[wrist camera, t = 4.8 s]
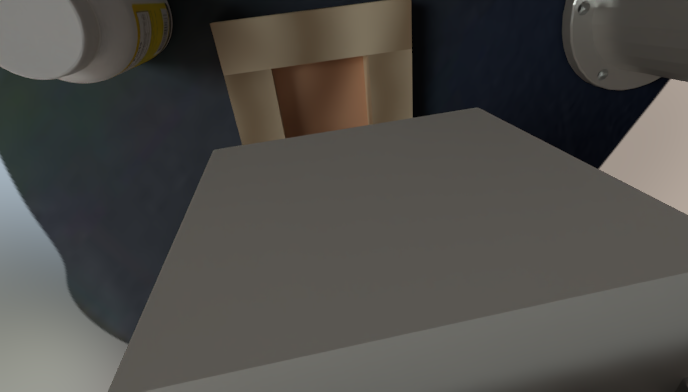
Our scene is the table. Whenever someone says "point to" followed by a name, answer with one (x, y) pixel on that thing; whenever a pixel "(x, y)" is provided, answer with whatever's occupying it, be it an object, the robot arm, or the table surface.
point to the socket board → (317, 69)
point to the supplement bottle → (81, 37)
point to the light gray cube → (415, 270)
